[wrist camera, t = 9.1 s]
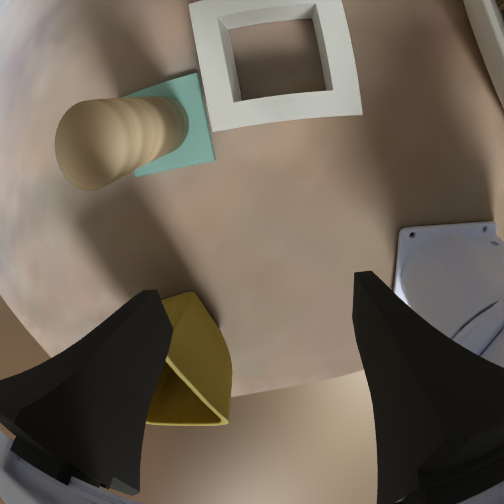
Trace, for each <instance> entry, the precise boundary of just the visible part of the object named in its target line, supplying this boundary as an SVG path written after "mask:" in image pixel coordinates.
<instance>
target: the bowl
mask: <svg viewBox="0 0 504 504" xmlns="http://www.w3.org/2000/svg"><path fill="white" fill-rule="evenodd" d="M463 2H464V6H465V9H466V12H467V15H468V18H469V21H470V24H471V27H472V30H473V33H474V35H475V38H476V41H477V44H478V47H479V49H480V52H481V54H482V57H483V60H484V62H485V65H486V68H487V70H488V73H489V75H490V78H491V80H492V83H493V85H494V87H495V90H496V92H497V95H498V97H499V99H500V102H501V104H502V107H503V109H504V0H463Z"/></svg>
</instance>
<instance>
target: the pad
mask: <svg viewBox="0 0 504 504" xmlns="http://www.w3.org/2000/svg"><path fill="white" fill-rule="evenodd" d="M125 97H170V98H173V99H175V100H177V101H178V102H179V103H180V104H181V105H182V106H183V107H184V108H185V110H186V112H187V115H188V118H189V131H188V134H187V137H186V139H185V141H184V142H183V144H182V145H181V146H180V147H179V148H178V149H176V150H175V151H173V152H171V153H169V154H166V155H164V156H162V157H160V158H158V159H156V160H154V161H152V162H150V163H148V164H146V165H144V166H142V167H140V168H138V169H136V170H134V173H135V177H140V176H144V175H148V174H152V173H157V172H161V171H166V170H170V169H175V168H180V167H185V166H190V165H195V164H200V163H205V162H211V161H215V160H216V159H215V154H214V149H213V144H212V139H211V134H210V129H209V124H208V119H207V114H206V109H205V104H204V99H203V94H202V89H201V83H200V78H199V73H194V74H190V75H187V76H183V77H180V78H176V79H173V80H169V81H166V82H163V83H160V84H157V85H154V86H151V87H148V88H145V89H142V90H140V91H137V92H134V93H132V94H129V95H126V96H124V97H121V98H125Z"/></svg>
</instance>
